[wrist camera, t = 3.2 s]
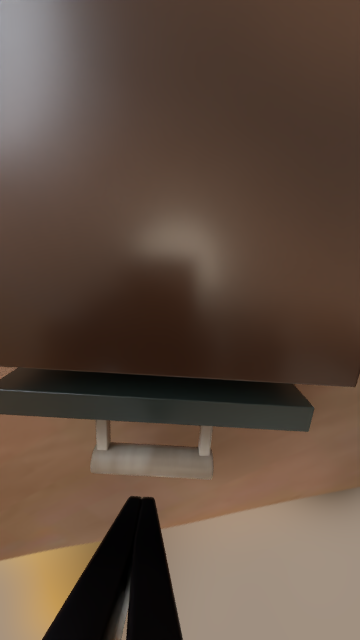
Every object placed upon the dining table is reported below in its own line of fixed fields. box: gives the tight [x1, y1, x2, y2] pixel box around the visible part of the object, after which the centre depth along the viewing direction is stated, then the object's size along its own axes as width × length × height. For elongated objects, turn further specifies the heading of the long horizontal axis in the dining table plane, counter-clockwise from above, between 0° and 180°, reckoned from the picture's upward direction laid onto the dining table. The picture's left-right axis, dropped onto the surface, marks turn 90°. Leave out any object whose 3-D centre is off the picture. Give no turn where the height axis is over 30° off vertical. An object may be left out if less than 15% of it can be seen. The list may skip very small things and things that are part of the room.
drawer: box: [0, 367, 314, 480], centre depth 11 cm, size 20×13×6 cm, turn 176°
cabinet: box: [0, 0, 360, 387], centre depth 9 cm, size 17×15×8 cm
